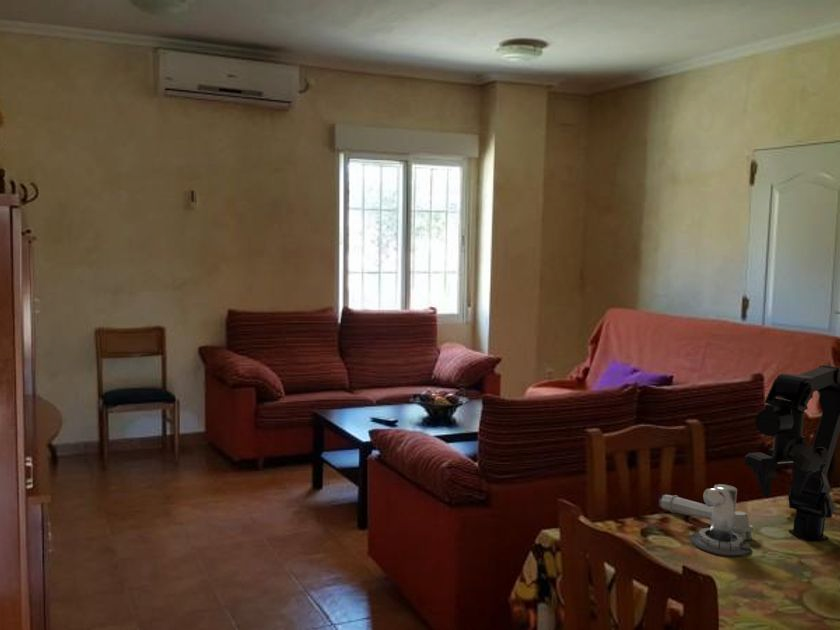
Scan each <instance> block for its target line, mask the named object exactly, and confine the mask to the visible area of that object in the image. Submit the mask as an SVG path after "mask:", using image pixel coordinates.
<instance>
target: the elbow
mask: <svg viewBox="0 0 840 630" xmlns="http://www.w3.org/2000/svg"><path fill="white" fill-rule="evenodd" d="M737 495H738V489H737V487H735V486H732V485H728V484H724V483H723V484H721V483H718V484H714V486H713V488H706V489H705V490H704V492H703V494H702V498H703V501H704V503H705V505H707V506H709V507H712V515H711V520H710V527H709V528H710V538H712V539H715V540H718V541H725V542H731V541H732V539H733V528H734V518H735V511H736V505H737Z"/></svg>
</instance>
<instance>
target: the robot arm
mask: <svg viewBox="0 0 840 630" xmlns="http://www.w3.org/2000/svg"><path fill="white" fill-rule="evenodd" d="M815 392H817V394H818V395H819V398H818V404H819V406H820V410H821V416H820V420H819V423H818V426H817V429H816V433H815V435H814V436H815V437H814V439H813V443H812V445H811V447H810V446H809V445H808V438H807V436H804V435H803V430H804V419H805V410H806V411H807V410H808V409H809V407H808V403H809V401H810V400H812V398H813V397H814V393H815ZM764 403H765V407H764V410H761V411H759V412H758V413H757V414H756V417H755V419H754V422H755V423H754V424H755V427H756V429H757V431H758V432H759V433H760V434H762V435H764V436H766V437H772V438H773V444H772V448H768V450H767V451H768V453H767V454H766V453H764V452H760V451H759V452H749V453H747V454H746V455H745V458H744V465H745V466H747V467H748V469H751V470H752V472H753V474H754V476H755V478H756V480H757V483H758V485H759V488H760V490H761V493H762V495H763V498H765V499H769V498H770V495H771V489H772V481H773V478H774V477H775V476H776V475H777V474H778V472H777V471H776V470H777V469H778V465H779V466H780V465H788V464H789V465H790V464H791V467H792V469H791V470H792V482H791V485H790V486H789V488H788V492H787V493H788V504H789V505H788V506H789V508H790V509H794V510H795V516H794V518H793V528H792V529H788V532H789V533H791V534H792V535H794V536H796V537H798V538H801V539H802V540H805V541H807V542H817V541H824V540H825V541H826V540H829V536H827V535H826V534H824V531H825V522H826V518H827V519H828V518H829V519H832V518H833V514H834V512H835V504H834V502H833V500H832V498H831V496H830V494H831V493H830V492H831V486H830V482H829V479H828V473H829V469H830V465H831V461H832V458H833V455H834V453H835V452H834V451H835V448H836V446H837V443H838V439H839V436H840V366H839V367H838V366H832V365H826V364H823V365H819V366H818V367H816V368H814V369H811V370H808V371H805V372H802V373H799V374H795V373H780V374H778V375H777V377H776V378H774V381H773V383H772V384H771V387H770V389H769V391H768V394H767V396H766V398H765V400H764ZM771 455H772V456H771Z"/></svg>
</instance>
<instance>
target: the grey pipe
mask: <svg viewBox="0 0 840 630" xmlns="http://www.w3.org/2000/svg"><path fill="white" fill-rule="evenodd" d="M658 507H659V508H660V509H661V510H664V511H669V512H670V513H672V514H676V513H677V514H682V515H686V516H690V517H691V516H692V517H695V518H700V519H705V520H709V521H711V515H712V507H709V506H707V505H706V503H705V504H704V503H701V502H699V501H698V502H697V501H694V500H690V499H686V498H683V497H679V496H678V495H676V494H675V495H671V494H666V493H665V494H662V495H660V497H659V499H658ZM748 516H749V515H748V514H747V513H746V512H744V511H739V510H738V511H736V510H735V518H734V528H733V532H735V533H737V534H739V535H740V536H741V537H742V538H743V540H745V541H747V540H751V539H752V532H753V531H754V527H753V525H751V524H750V521H749V517H748Z"/></svg>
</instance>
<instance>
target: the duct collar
mask: <svg viewBox="0 0 840 630" xmlns="http://www.w3.org/2000/svg"><path fill="white" fill-rule="evenodd" d="M690 543H691V544H692V545H693V546H695V547H696V548H697V549H699V550H701V551H703V552H706V553H709V554H712V555H716V556H722V557H729V558H730V557H733V558H735V557H744V556H747V555H748V554H750V553H751V545H750V543H749V542H747V540H743V538H742V537H741V536H740V535H739V534H737V533H735V532H733V539H732V541H731V542H725V541H718V540H715V539H712V538H710V527H704V528H701V530H699V531H696V532H693V533H692V534H691V536H690Z"/></svg>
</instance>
